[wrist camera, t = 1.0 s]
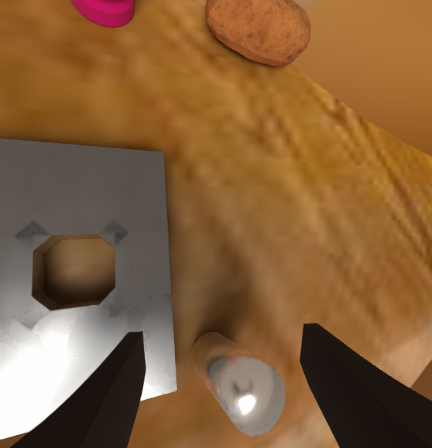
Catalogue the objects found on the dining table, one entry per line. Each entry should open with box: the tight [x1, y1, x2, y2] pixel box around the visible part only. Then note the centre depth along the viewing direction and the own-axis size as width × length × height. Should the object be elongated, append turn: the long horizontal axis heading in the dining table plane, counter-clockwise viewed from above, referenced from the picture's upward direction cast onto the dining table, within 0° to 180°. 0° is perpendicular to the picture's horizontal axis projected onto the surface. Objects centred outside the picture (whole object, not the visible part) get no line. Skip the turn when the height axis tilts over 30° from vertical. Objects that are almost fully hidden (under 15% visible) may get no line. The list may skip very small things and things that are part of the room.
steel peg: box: [190, 332, 285, 436], centre depth 20 cm, size 4×4×9 cm
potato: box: [205, 0, 311, 66], centre depth 29 cm, size 7×13×7 cm, turn 80°
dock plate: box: [0, 138, 177, 439], centre depth 20 cm, size 20×14×3 cm
